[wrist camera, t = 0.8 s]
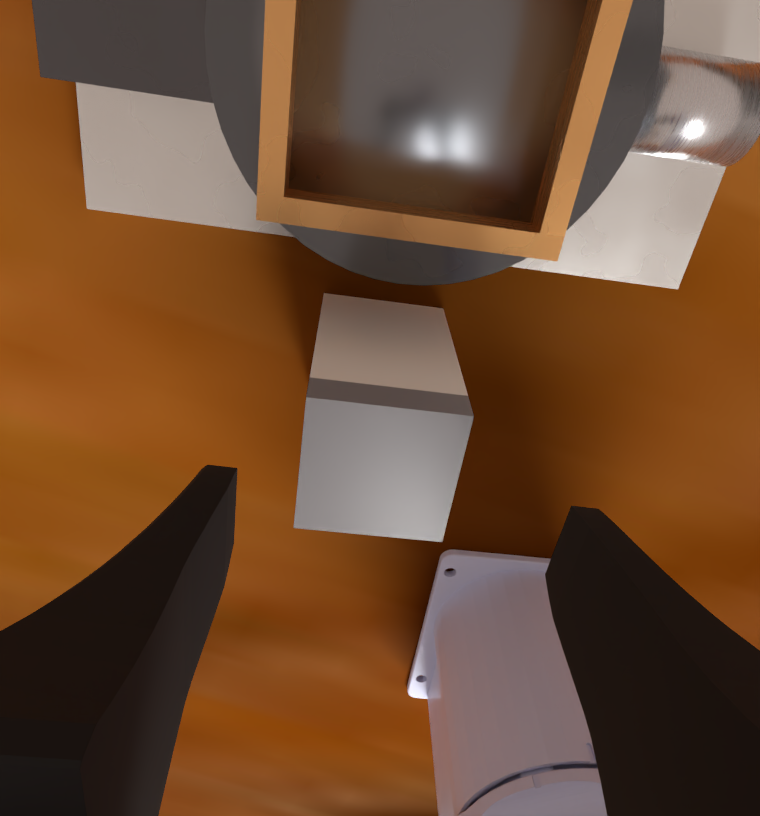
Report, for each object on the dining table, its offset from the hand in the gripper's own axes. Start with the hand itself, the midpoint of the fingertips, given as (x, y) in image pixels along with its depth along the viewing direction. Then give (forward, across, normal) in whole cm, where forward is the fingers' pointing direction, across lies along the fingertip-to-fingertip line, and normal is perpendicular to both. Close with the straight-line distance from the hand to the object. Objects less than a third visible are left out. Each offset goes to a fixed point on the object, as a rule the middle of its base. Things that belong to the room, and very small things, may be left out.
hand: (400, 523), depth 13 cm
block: (+9, 0, 0) cm, 9 cm away
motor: (+9, 0, -8) cm, 13 cm away
